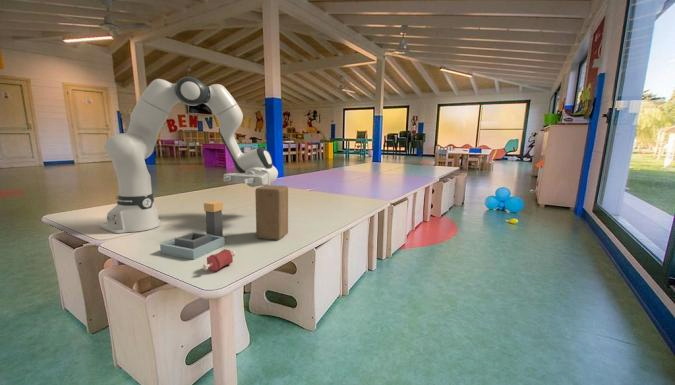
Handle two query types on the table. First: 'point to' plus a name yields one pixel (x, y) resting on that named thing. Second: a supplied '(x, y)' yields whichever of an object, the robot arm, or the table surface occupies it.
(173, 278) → the table surface
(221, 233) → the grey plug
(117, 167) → the robot arm
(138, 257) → the table surface
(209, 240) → the box
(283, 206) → the wooden block
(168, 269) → the table surface
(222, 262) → the meat
